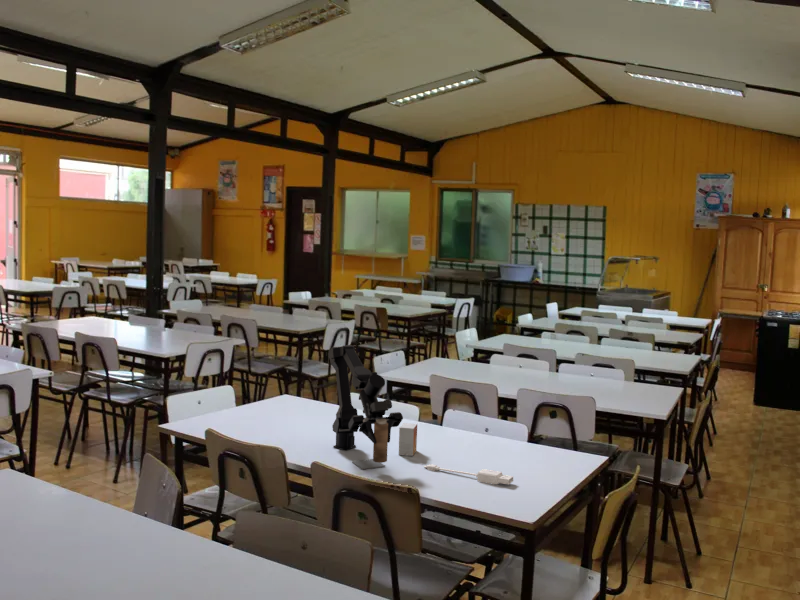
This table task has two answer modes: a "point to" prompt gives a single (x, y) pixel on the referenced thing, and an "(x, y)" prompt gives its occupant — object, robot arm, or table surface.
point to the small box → (407, 439)
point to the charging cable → (480, 475)
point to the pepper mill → (380, 440)
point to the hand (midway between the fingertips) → (382, 442)
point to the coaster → (368, 464)
